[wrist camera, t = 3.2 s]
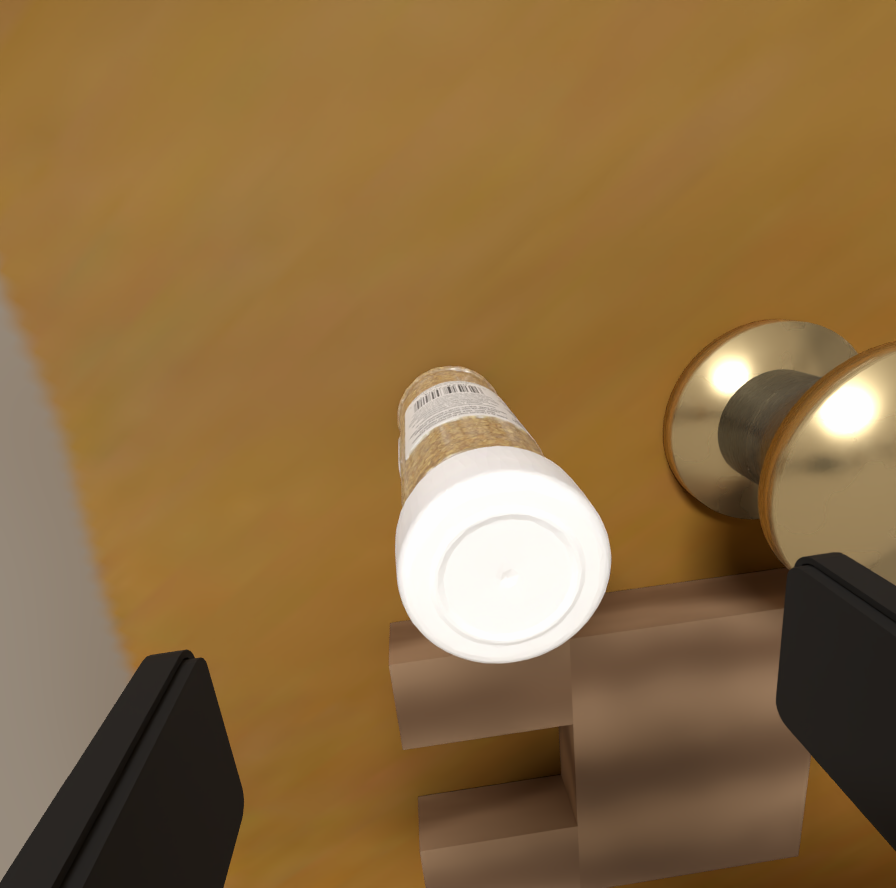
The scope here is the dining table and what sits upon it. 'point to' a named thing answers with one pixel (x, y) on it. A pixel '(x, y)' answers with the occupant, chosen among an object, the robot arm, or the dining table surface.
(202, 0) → the dining table surface
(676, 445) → the bobbin
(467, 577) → the sprinkles bottle
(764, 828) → the notched board
